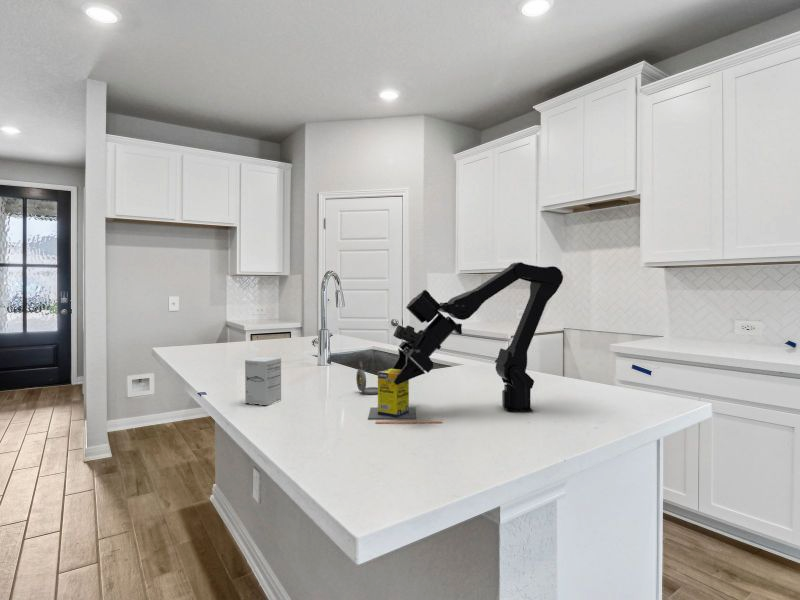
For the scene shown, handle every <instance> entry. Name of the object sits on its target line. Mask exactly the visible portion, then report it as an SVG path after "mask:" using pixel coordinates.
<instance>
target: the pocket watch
mask: <svg viewBox="0 0 800 600" xmlns="http://www.w3.org/2000/svg"><path fill="white" fill-rule="evenodd" d="M358 364H359V366H360V367H359V369H358V370H357V371H356V377H355V378H356V380H355V381H356V385H357V389H358V390H359V391H361V393H362V394H366V395H378V386H376V387H374V386H373V387H372V386H371V387H367V377H366V372H365V371H364V369H363V367H364V365H363V363H362V362H361V360H360V361H359V362H358Z"/></svg>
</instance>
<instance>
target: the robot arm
mask: <svg viewBox="0 0 800 600" xmlns="http://www.w3.org/2000/svg"><path fill="white" fill-rule="evenodd" d="M519 279H520V280H522V281H526V282H530V284H529V298H528V301H527V303H526V305H525V307H524V310H523V313H522V315H521V318H520V320H519V324H518V325H517V327H516V331H515V333H514V336H513V337H512V340H511V343H510V345H509V346H508V347H507V348H506V349H503V348H500V349H499V351H498V352H499V353H498V357H497V358H496V359H495V360H494V363H495V371H496V373H497V375H498V376H499V377H500V378H501V380H502V382H503V384H504V385H503V386H504V389H502V391H501V395H502V396H501V397H502V399H501V402H502V403H501V405H502V406H503V408H504V409H505V410H506V412H533V408H532V407H531V391H532V390H531V389H533V386H534V385H535V384H534V383H535V380H534V379H533V378H532V377H531V376H530V375H529V374H528V373H527V367H528V351H529V349H530V345H531V343H532V341H533V338H534V336H535V334H536V331H537V328H538V326H539V324H540V321H541V318H542V315H543V313H544V310H545V309H546V305H547V304H548V302H549V300H551V298H552V297H553V296H554V295H555V294H556V292H557V291H558V290H559V288H560V287H561V284H562V283H563V281H564V275H563V272H562V271H561V269H560V268H559V267H557V266H537V265H533V264H532V265H531V264H527V263H524V262H521V261H520V262H513V263H510V265H509V266H508V267H506V268H504V269H503V270H501V271H500V272H499V273H497V274H495V275H494V276H492V277H491V278H489V279H488V280H487V281H485V282H483V283H481V285H478V286H477V287H475V288H473V289H471V290H469V291H466V292H463V293H461V294H459V295H455V296H454V297H451V298H450V299H449V300H448V301H447V302H440V303H439V302H438V301H437V300H436V299H435V298H434V297H433V296H432V295H431V294H430V292H429V291H428V290H427V289H423V290H422V291H421V292H420V293H418V295H416V296H415V297H413V298H411V300H410V301H409V302H408V304H407V305H406V307H405V308H406V309H407V310H408V311H409V313H410V314H412V315H413V316H414V317H415V319H417V320H418V321H419V322H420V323H425V322H426V323H427V324H428V323H429V324H428V325H427V326H426V327H425V328H424V329H420V330H419V331H418V332H416V331H415V327H414V326H411V325H409V324H408V325H406V326H405V327H404V326H402V325H400V324H397V326H396V328H395V331H394V333H393V337H395V338H396V339H398V340H403V341H402V342H401V343H400V344H399V345H398V347H399V348H398V349H397V351H398V357H397V360H396V362H395V363H394V365H393V366H392V368H391V369H399V370H401V372H400V373H399V374H398V376H397V377H396V379H395V381H394V383H395V384H396V385H398V384H400V383H403V382H405V381H407V380H409V381H410V380H411V379H414V378H417V377H419V376H421V375H425V374H426V373H427V374H428V373H430V371H432V370H433V368H434V362H433V361H432V359H431V356H432V355H433V354H434V353H435V352H436V350H440V349H441V348H442V346H441V345H443V343H444V342H445V341H446V340H447V339H448V338H449V337H450V335H451V334H453V332H454V333H455V334H458V335H462V334H463V330H462V329H463V328H462V326H463V324H462V323H457V322H455V320H453V319H457V320H461V321H463V320H464V321H465V320H467V319H469V318H470V317H472V315H474V314H475V313H476V312H477V311H478V310H479V309H480V308H481V306H482V305H483V304H484V303H485V302H487V300H489V299H490V298H492V297H494V296H495V295H496V294H498V293H499V292H501V291H504V289H505V288H507V287H509V286H510V285H512V284H513V283H514V282H517V280H519ZM443 313H445V314H448V316H446V317H445V316H444V314H443Z"/></svg>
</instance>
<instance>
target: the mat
mask: <svg viewBox="0 0 800 600" xmlns="http://www.w3.org/2000/svg"><path fill="white" fill-rule="evenodd" d="M367 420H372V421H373V420H418V417H417V410H416V407H415V406H409V412H408V413H405V414H403V415H401V416H399V417H391V416H385V415H379V414H378V406H377V407H375V406H374V407H370V409H369V413H368V417H367Z"/></svg>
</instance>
